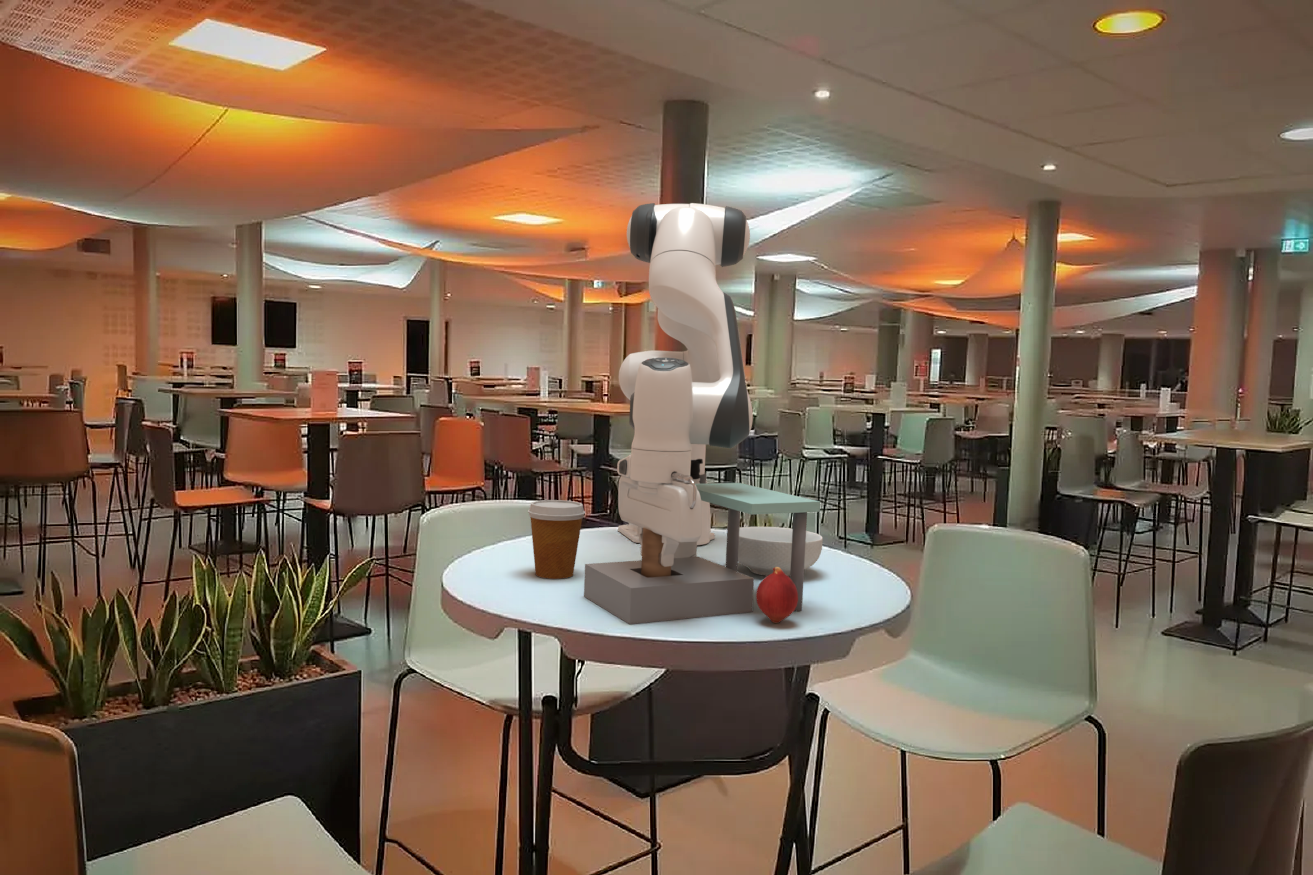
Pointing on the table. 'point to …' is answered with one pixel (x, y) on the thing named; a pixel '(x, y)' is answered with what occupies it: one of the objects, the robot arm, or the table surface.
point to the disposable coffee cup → (555, 536)
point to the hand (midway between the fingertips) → (656, 561)
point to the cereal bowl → (774, 549)
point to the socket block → (668, 590)
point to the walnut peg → (652, 555)
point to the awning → (762, 503)
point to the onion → (777, 596)
